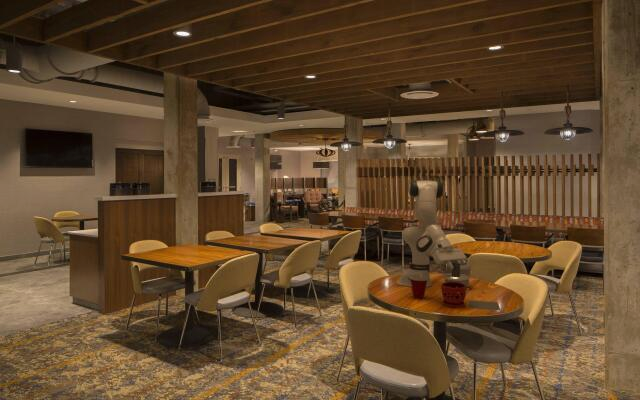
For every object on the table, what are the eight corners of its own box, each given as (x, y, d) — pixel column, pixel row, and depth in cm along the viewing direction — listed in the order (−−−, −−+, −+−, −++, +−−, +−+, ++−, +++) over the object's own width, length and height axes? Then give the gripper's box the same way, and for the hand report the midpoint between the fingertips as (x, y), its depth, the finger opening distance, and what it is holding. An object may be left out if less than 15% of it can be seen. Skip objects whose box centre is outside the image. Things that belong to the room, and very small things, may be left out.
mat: (469, 308, 248) (469, 307, 248) (468, 300, 263) (468, 300, 263) (500, 310, 243) (500, 310, 243) (497, 302, 259) (497, 302, 259)
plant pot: (438, 302, 259) (438, 281, 259) (460, 302, 260) (460, 281, 260) (446, 309, 246) (446, 287, 246) (469, 308, 247) (470, 287, 247)
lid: (437, 277, 255) (437, 262, 254) (456, 274, 261) (456, 260, 261) (455, 281, 242) (455, 266, 242) (474, 279, 249) (474, 264, 248)
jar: (475, 291, 286) (476, 251, 284) (452, 291, 284) (453, 251, 283) (463, 284, 304) (463, 246, 303) (441, 284, 303) (442, 247, 302)
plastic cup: (430, 296, 272) (430, 277, 271) (424, 301, 262) (425, 280, 262) (412, 294, 277) (413, 275, 277) (406, 298, 268) (407, 278, 267)
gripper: (455, 250, 266) (467, 269, 258) (428, 252, 257) (439, 273, 249) (461, 243, 262) (473, 263, 254) (433, 246, 253) (445, 266, 244)
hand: (456, 268), depth 251 cm, fingers closed on lid, 3 cm apart
